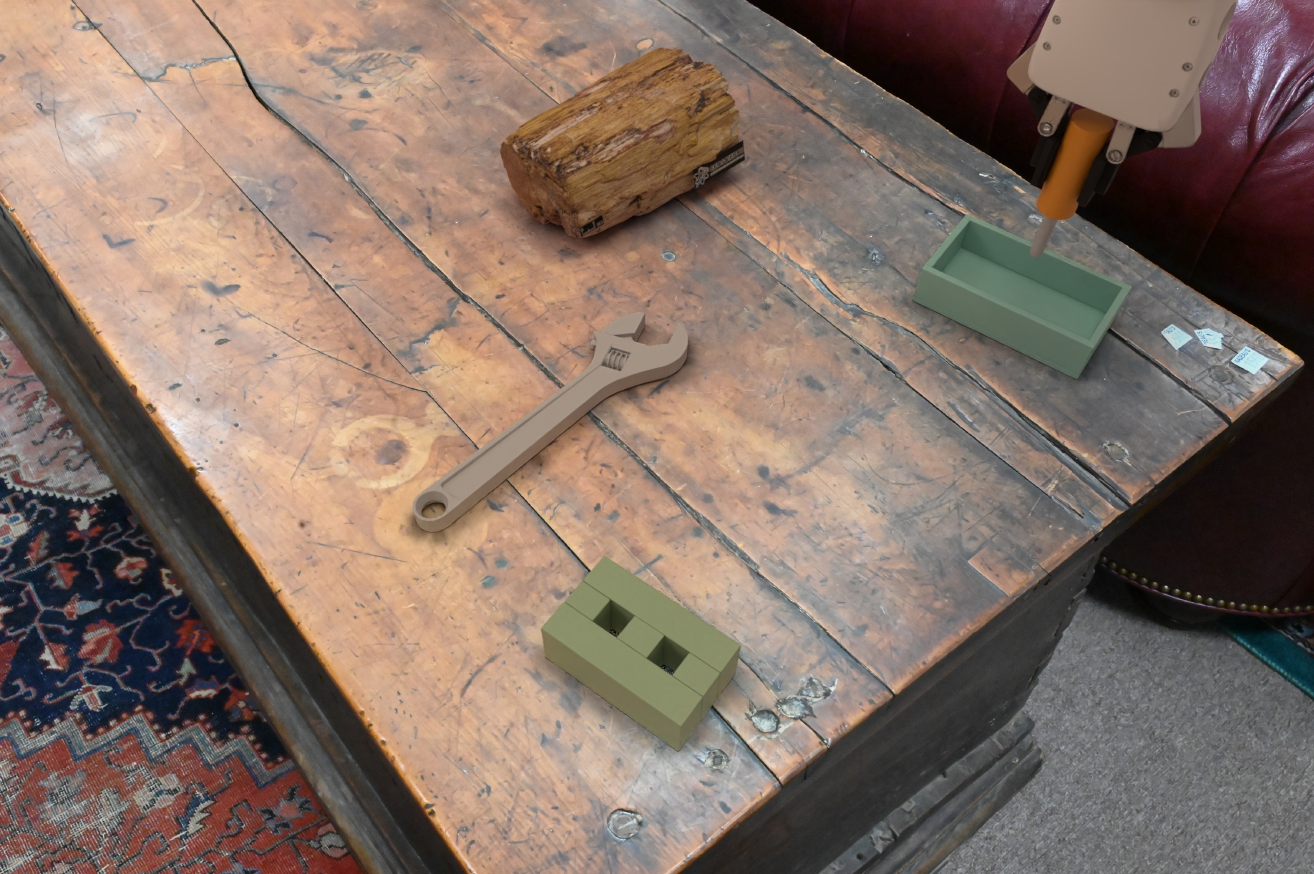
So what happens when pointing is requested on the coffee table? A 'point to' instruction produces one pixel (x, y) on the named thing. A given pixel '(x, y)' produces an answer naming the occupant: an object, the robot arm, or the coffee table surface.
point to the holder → (641, 651)
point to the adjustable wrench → (555, 415)
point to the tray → (1021, 295)
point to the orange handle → (1070, 171)
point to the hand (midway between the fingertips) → (1065, 184)
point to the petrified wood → (625, 143)
